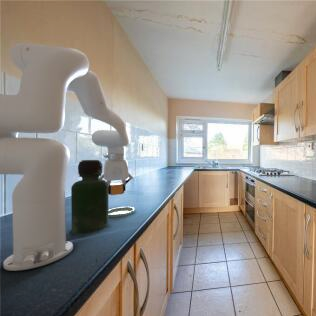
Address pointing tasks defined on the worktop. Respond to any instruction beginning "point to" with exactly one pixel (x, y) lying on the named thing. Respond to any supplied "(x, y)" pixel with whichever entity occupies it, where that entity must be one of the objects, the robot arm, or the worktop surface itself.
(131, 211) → the white plate
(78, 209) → the dark green bottle
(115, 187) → the cube
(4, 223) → the worktop surface
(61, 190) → the robot arm
